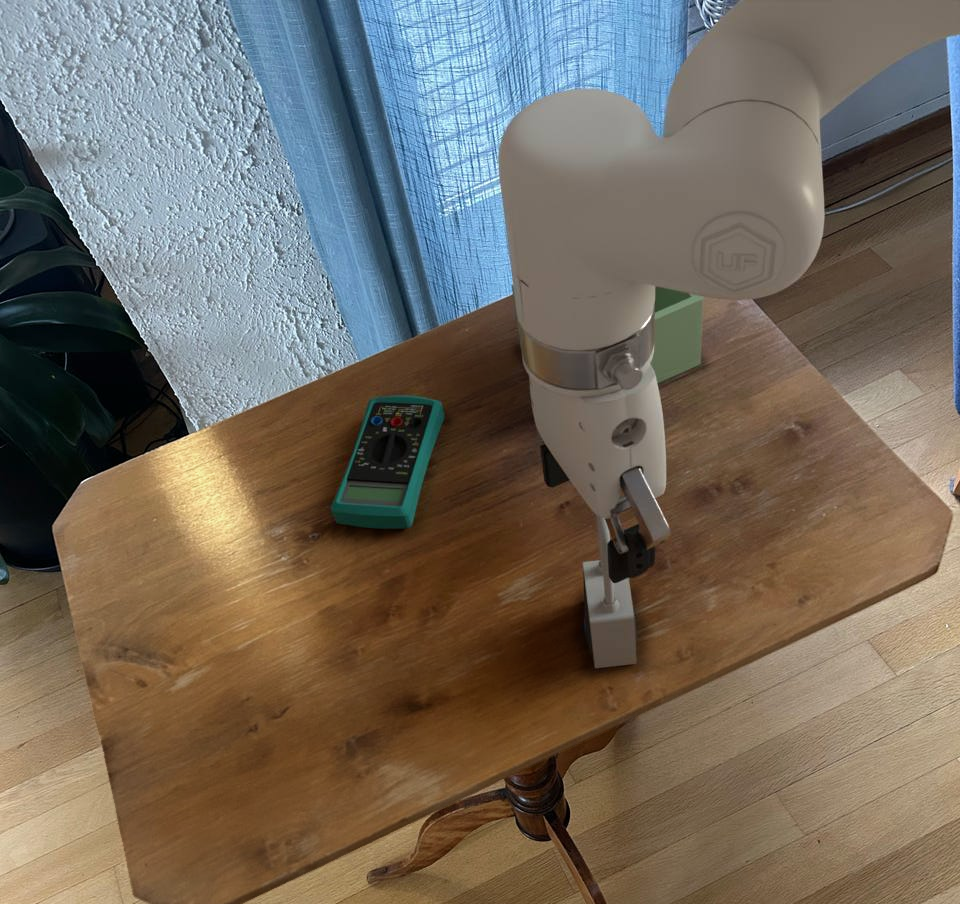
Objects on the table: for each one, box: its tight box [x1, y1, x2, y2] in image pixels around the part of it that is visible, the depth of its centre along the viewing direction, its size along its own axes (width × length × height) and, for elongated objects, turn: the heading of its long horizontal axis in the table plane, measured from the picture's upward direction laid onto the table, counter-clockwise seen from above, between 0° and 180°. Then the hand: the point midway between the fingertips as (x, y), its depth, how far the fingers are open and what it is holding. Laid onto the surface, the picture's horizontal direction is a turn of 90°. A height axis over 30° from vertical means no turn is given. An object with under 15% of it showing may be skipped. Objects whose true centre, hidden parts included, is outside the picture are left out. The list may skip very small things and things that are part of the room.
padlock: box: [582, 514, 638, 669], centre depth 77 cm, size 7×4×15 cm, turn 2°
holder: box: [511, 284, 704, 384], centre depth 97 cm, size 12×14×8 cm
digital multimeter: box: [330, 394, 445, 530], centre depth 95 cm, size 7×15×3 cm, turn 168°
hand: (597, 523), depth 72 cm, fingers open, 9 cm apart
